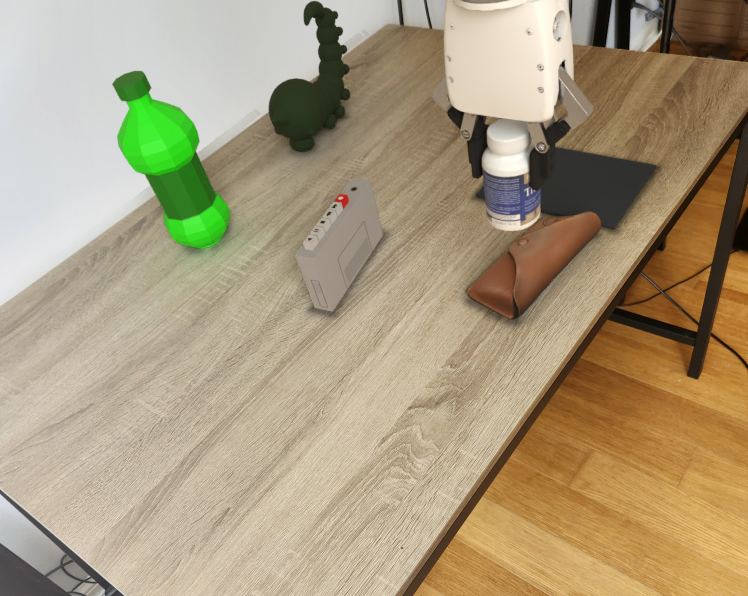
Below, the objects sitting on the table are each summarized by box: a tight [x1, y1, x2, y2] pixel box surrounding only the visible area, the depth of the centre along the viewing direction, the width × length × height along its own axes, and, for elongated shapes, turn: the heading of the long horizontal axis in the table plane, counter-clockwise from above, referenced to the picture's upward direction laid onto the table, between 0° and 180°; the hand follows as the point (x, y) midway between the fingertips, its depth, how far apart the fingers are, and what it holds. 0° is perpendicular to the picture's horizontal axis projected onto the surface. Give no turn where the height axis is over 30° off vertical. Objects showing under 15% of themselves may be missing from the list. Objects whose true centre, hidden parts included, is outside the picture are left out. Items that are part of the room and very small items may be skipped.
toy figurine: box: [268, 0, 351, 152], centre depth 107 cm, size 9×19×25 cm
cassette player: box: [294, 177, 384, 313], centre depth 84 cm, size 16×3×10 cm, turn 154°
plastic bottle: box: [111, 70, 231, 250], centre depth 90 cm, size 10×10×25 cm
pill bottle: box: [482, 118, 541, 232], centre depth 62 cm, size 5×5×10 cm
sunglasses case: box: [466, 211, 602, 320], centre depth 80 cm, size 18×7×7 cm
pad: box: [476, 146, 657, 230], centre depth 90 cm, size 20×14×1 cm
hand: (511, 174), depth 62 cm, fingers closed on pill bottle, 5 cm apart
